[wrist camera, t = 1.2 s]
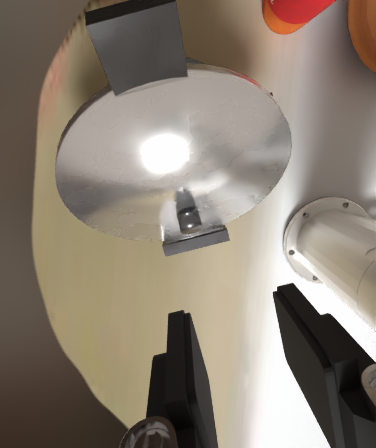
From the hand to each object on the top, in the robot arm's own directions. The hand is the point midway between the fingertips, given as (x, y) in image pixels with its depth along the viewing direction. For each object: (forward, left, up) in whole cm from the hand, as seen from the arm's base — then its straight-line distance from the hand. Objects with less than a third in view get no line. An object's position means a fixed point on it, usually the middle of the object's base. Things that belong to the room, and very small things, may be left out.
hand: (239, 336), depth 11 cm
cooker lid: (+1, -6, -14) cm, 15 cm away
